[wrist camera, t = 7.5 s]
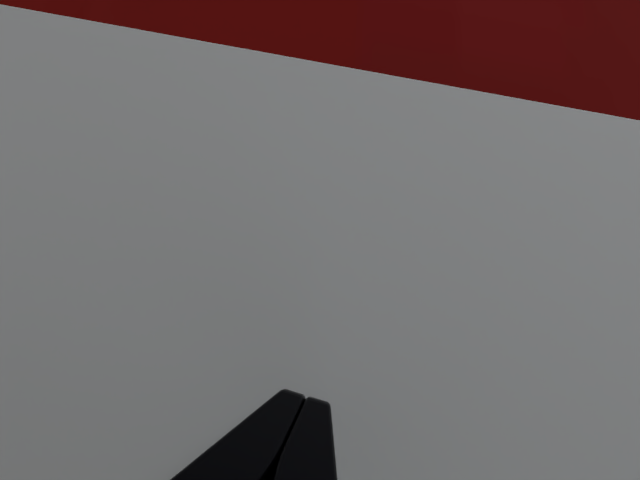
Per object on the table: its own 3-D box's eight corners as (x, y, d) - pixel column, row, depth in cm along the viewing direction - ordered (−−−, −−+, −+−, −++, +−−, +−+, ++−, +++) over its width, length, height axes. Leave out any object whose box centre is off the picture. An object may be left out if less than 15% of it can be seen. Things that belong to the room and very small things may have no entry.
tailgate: (633, 923, 8) (935, 174, 7) (-80, 603, 11) (-16, 1, 9) (597, 796, 10) (827, 176, 8) (-12, 546, 13) (54, 31, 11)
